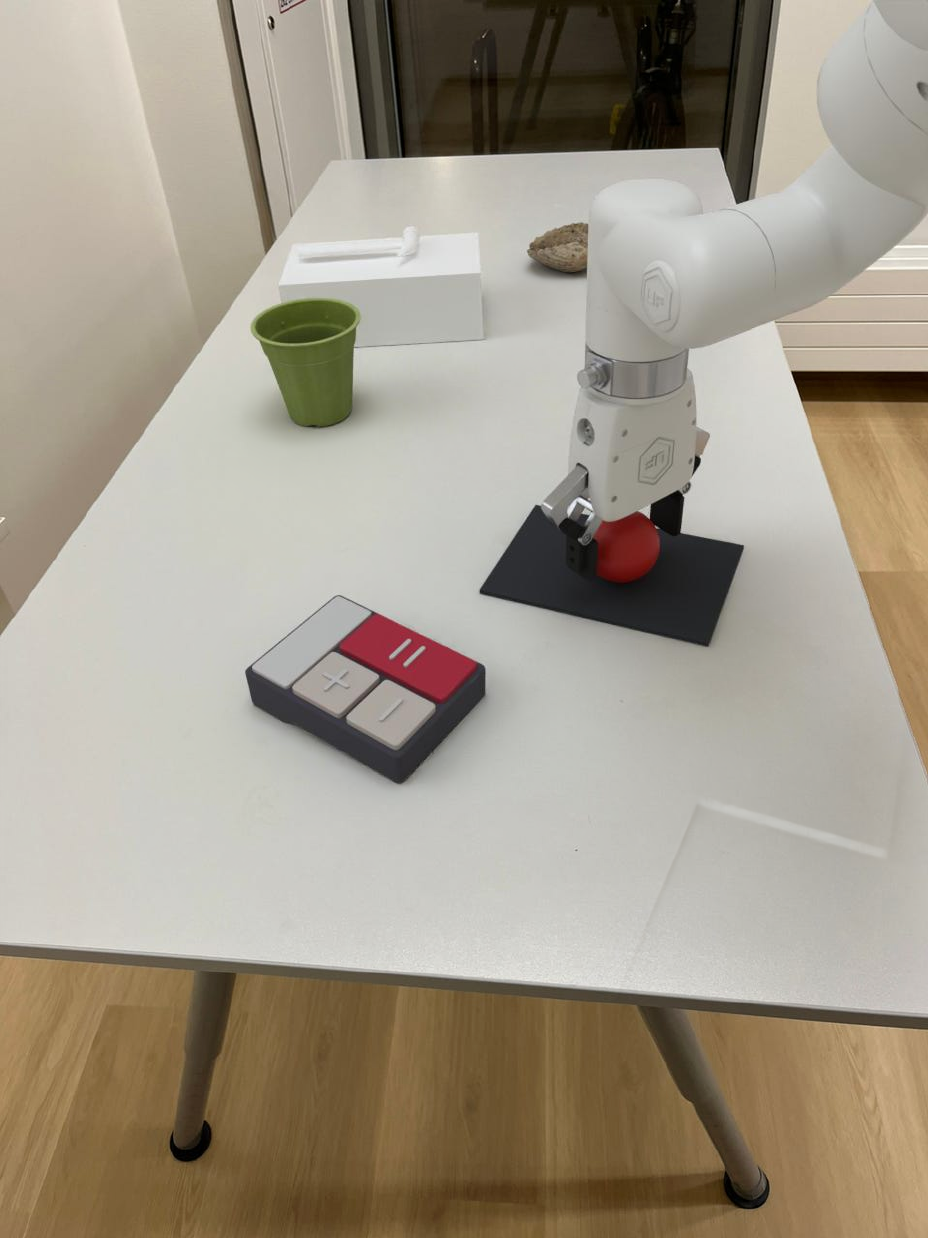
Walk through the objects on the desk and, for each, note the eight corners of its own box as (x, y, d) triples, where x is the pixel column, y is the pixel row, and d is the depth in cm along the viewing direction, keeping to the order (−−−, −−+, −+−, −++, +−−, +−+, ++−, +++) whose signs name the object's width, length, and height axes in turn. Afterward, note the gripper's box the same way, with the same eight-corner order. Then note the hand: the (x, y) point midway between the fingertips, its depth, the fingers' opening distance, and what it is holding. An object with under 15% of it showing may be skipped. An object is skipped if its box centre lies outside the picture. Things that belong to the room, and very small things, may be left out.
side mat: (743, 548, 86) (744, 544, 86) (708, 646, 76) (708, 643, 76) (535, 507, 93) (535, 504, 92) (479, 593, 83) (479, 589, 83)
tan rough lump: (540, 274, 145) (510, 267, 137) (545, 224, 143) (515, 214, 135) (609, 277, 140) (582, 270, 132) (614, 225, 138) (588, 215, 130)
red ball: (666, 561, 84) (670, 499, 80) (647, 603, 80) (649, 539, 76) (597, 550, 87) (597, 489, 83) (574, 590, 82) (573, 527, 78)
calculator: (397, 752, 65) (240, 663, 71) (401, 791, 68) (249, 703, 74) (488, 658, 71) (336, 585, 78) (488, 698, 74) (341, 624, 81)
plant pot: (249, 427, 108) (227, 333, 101) (308, 382, 116) (292, 291, 108) (335, 448, 103) (319, 350, 96) (391, 399, 111) (381, 306, 104)
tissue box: (483, 339, 122) (479, 253, 115) (290, 350, 123) (274, 266, 116) (480, 295, 133) (477, 214, 126) (303, 306, 134) (289, 226, 127)
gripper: (581, 421, 64) (576, 614, 75) (754, 344, 71) (727, 531, 83) (512, 383, 69) (517, 570, 80) (681, 315, 76) (664, 495, 87)
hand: (623, 550), depth 81 cm, fingers open, 9 cm apart
